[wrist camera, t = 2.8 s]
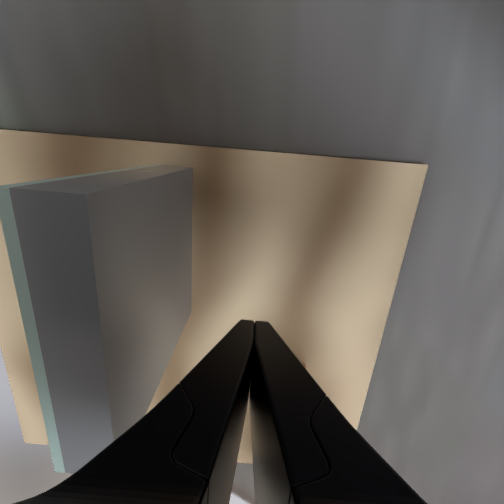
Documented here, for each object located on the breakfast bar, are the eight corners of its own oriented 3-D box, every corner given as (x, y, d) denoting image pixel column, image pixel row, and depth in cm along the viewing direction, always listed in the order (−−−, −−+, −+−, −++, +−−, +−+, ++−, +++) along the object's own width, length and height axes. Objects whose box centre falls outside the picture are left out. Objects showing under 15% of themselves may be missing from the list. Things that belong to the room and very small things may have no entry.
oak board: (424, 164, 14) (428, 164, 14) (344, 466, 21) (345, 472, 21) (-48, 125, 14) (-56, 124, 14) (29, 437, 21) (24, 442, 21)
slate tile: (192, 167, 14) (86, 194, 6) (191, 311, 17) (117, 477, 8) (155, 164, 14) (-7, 186, 6) (160, 308, 17) (54, 471, 8)
